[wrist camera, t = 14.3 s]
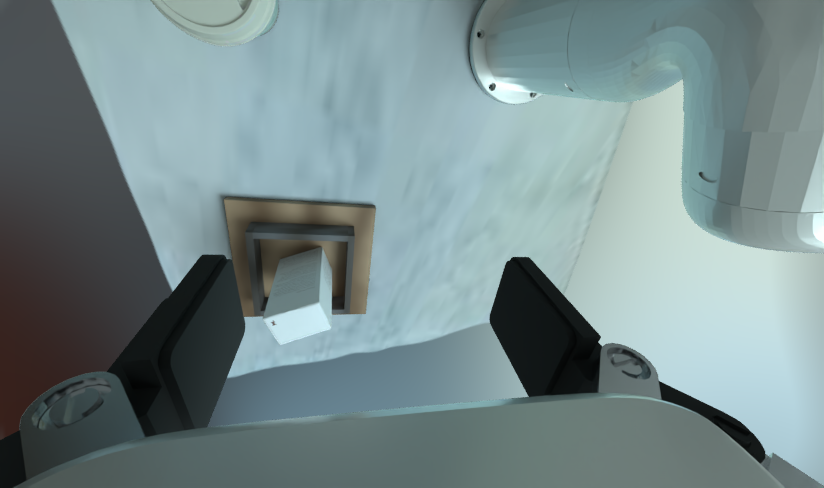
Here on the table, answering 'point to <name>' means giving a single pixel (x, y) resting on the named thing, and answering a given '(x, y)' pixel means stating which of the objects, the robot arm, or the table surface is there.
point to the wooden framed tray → (300, 247)
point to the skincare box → (300, 297)
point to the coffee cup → (221, 19)
